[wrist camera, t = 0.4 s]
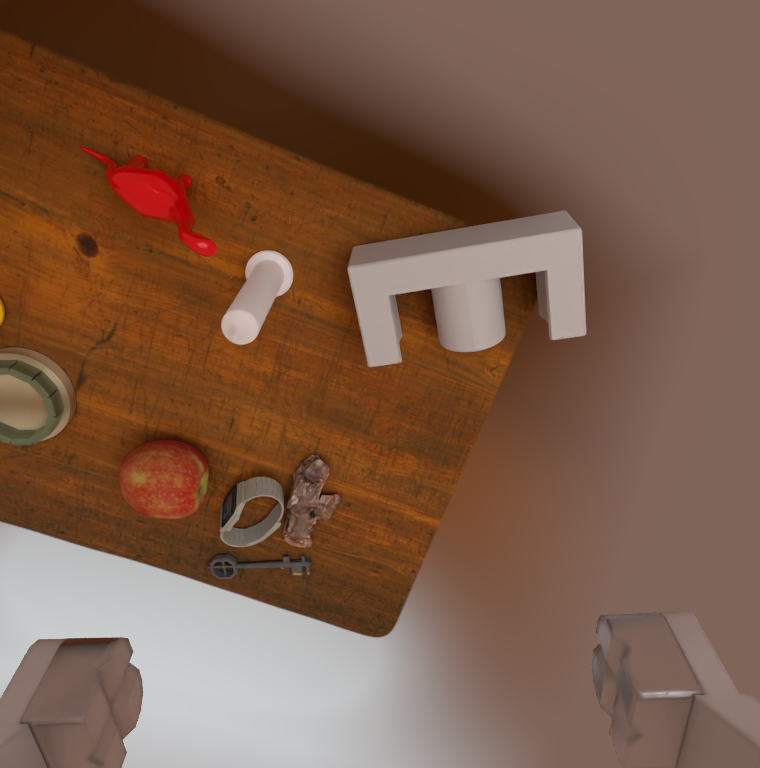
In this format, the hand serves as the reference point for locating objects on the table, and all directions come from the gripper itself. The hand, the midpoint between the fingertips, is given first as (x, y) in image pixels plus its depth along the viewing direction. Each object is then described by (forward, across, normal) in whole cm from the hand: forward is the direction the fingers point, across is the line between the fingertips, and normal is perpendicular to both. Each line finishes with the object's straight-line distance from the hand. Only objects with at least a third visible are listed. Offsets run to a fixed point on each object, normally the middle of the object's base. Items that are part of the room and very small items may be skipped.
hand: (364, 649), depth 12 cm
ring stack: (+52, +36, +21) cm, 66 cm away
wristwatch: (+51, +15, +35) cm, 63 cm away
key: (+50, +15, +46) cm, 69 cm away
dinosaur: (+52, +18, +1) cm, 55 cm away
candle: (+51, +10, +9) cm, 53 cm away
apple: (+51, +22, +29) cm, 63 cm away
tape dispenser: (+50, -8, +10) cm, 52 cm away
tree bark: (+48, +6, +36) cm, 60 cm away
